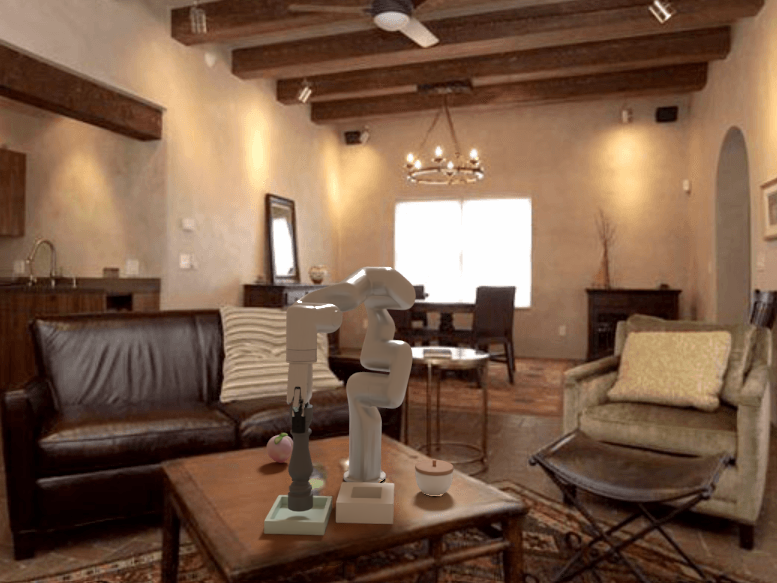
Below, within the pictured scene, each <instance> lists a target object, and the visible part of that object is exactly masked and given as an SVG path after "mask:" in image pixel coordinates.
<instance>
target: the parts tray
mask: <svg viewBox="0 0 777 583" xmlns="http://www.w3.org/2000/svg"><path fill="white" fill-rule="evenodd" d="M332 510H333V496H331V495H326V496H325V495H313V507H312V508H311V509H310V510H307V511H301V512H297V511H291V510H289V509H288V494H279V495H278V496H277V497H276V499H275V501H274V502H273V505H272V507H271V509H270V510H269V512H268V513H267V515H266V517H265V519H264V523H263V524H264V526H263V529H264V530H263V534H264V535H265V534H266V535H267V534H269V535H270V534H271V535H304V536H305V535H307V536H310V535H311V536H324V535H325V533H326V528H327V526H328V524H329V519H330V516H331V513H332Z"/></svg>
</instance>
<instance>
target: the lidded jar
mask: <svg viewBox="0 0 777 583" xmlns="http://www.w3.org/2000/svg"><path fill="white" fill-rule="evenodd" d="M414 470H415V472H414V473H415V475H414V476H415V482H416V485H417V487H418V489H419V490H420V491H421V492H422V493H423V492H424V493H425V494H429V495H440V494H444V493H445V494H446V493H447V492H448V491H449V489H450V488H451V486H452V483H453V478H454V477H453V476H454V465H453V464H452V463H450V462H448V461H445V460H441V459H434V458H433V459H426V460H425V459H424V460H420V461H418V462H416V463H415V465H414ZM445 494H444V495H445Z"/></svg>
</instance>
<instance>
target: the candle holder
mask: <svg viewBox="0 0 777 583" xmlns="http://www.w3.org/2000/svg"><path fill="white" fill-rule="evenodd" d="M300 407H301V408H302V406H300ZM313 408H314V406H313V405H312V404H310V403H309V404H305V412H304V416H306V423H305V433H292V429H290V431H289V432H290V434H291V435H292V441H293V450H292V453H291V455H290V458H289V462H288V468H287V470H288V475H289V477H290V479H291V481H292V482H291V483H290V485H289V486H288V491H289V492H288V493H287V495H288V509H289V510H291V511H297V512H301V511H307V510H310V509H311V508H312V507H313V496H314V492H313V491H312V490H313V486H312V484H311V483H310V480H311V478H310V477H312V474H313V473H314V465H313V462H312V457H311V452H310V447H309V446H310V444H309V442H310V438H309V437H310V435H311V434H313V433H312V431H313V430H312V429H311V428H310V426H311V424H312V422H313V421H312V420H313V419H314V417H313V416H314V415H313V414H314V410H313ZM292 410H293V404H289V421H290V424H291V425H292ZM301 410H302V409H301Z"/></svg>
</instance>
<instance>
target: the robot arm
mask: <svg viewBox="0 0 777 583" xmlns="http://www.w3.org/2000/svg"><path fill="white" fill-rule="evenodd" d="M416 296H417V294H416V289H415V287H414V285H413V284H412V282H410V281H409V279H407V278H406V277H405V276H404V275H403V274H402V273H400V272H399V271H398V270H397V269H395V268H392V267H389V266H363V267H359V268H357V269H356V270H354V271H353V272H352V273H350V274H349V275H348V276H346V277H345V278H343V279H342V280H341V281H340V282H338V283H334V284H332V285H328V286H325V287H323V288H319V289H316V290H313V291H311V292H309V293H306V294H304V295H303V296H301V297H300V298H299V299H297V300H295V301H294V303H293V304H292V305H290V306H288V307H287V309H286V315H285V316H286V317H285V318H286V320H285V321H286V322H285V323H286V324H285V328H286V329H285V334H286V335H285V341H286V342H285V362H286V363H287V364H288V372H287V384H286V385H287V387H286V388H287V389H286V403H287V405H291V403H292V405H293V410H292V424H291V430H292V433H305V423H306V416H304V412H305V404H310V400H311V399H312V396H313V384H314V383H313V381H314V376H313V374H314V373H313V372H314V370H313V369H314V367H313V364H314V363H317V362H318V333H319V334H321V333H322V334H331V333H332V334H333V333H334V332H336V331H337V330H338V329H340V327H341V326H342V323H343V317H344V316H343V313H346V312H351V311H353V310H356V309H357V308H358V307H360V306H361V305H362V304H363V305H364V309H365V312H366V316H367V323H368V324H367V327H366V328H367V329H366V332H365V337H364V340H363V344H362V346H361V347H362V348H361V353H360V356H359V357H360V358H359V361H360V364H361V366H362V367H364V369H367V370H370V371H378V372H379V371H380V372H387V373H388V372H389V374H385V373H384V374H383V373H377V372H367V371H366V372H365V371H362V372H361V371H360V372H355V373H353V374H352V375H350V376H349V378H348V379H347V383H346V390H345V391H346V396H347V402H348V410H349V412H348V413H349V414H348V415H349V427H348V428H349V432H348V433H349V435H348V436H349V438H348V439H349V440H348V445H349V446H348V447H349V451H348V452H349V453H348V470H347V471H345V472H344V473H343V480H344V482H364V483H378V482H379V481H380V480H384V479H385V480H386V479H387V474H386V473H385V472H384V471H383V470H382V427H383V426H382V424H383V423H382V417H381V414H380V411H379V409H378V407H379V408H384V409H386V408H387V409H396V408H398V407H400V406H401V405H402V403H403V402H404V399H405V396H406V392H407V387H408V383H409V378H410V374H411V370H412V364H413V359H414V358H413V349H412V348H411V345H410V344H409V343H408V342H406V341H403V340H396V339H394V337H395V332H396V326H395V325H396V324H395V321H394V319H393V317H392V316H391V315H390V313H389V311H388V310H398V311H399V310H400V311H406V310H409V309H411V308H412V307H413V306H414V304H415V302H416ZM300 406H302V408H301V407H300ZM301 409H302V410H301Z"/></svg>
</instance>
